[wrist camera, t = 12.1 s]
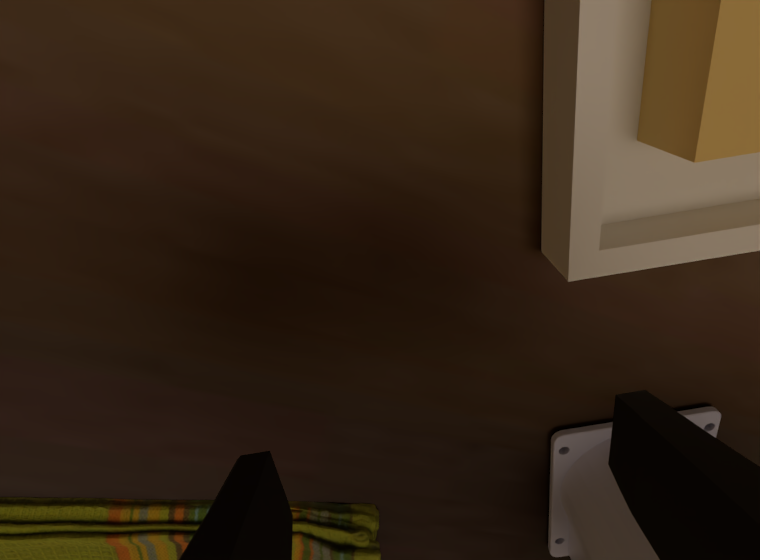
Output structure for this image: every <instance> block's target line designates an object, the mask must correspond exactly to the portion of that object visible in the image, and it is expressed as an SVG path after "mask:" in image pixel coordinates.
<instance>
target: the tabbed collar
mask: <svg viewBox="0 0 760 560" xmlns="http://www.w3.org/2000/svg"><path fill="white" fill-rule="evenodd" d="M637 141H639V142H642V143H645V144H647V145H650V146H652V147H655V148H657V149H660V150H663V151H665V152H668V153H670V154H673V155H676V156H678V157H681V158H683V159H686V160H688V161H691V162H694V163H696V162H702V161H708V160H715V159H721V158H727V157H733V156H739V155H745V154H751V153H757V152H760V0H652V1H651V10H650V20H649V29H648V39H647V48H646V58H645V68H644V77H643V87H642V96H641V106H640V116H639V125H638V135H637Z"/></svg>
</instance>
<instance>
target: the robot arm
mask: <svg viewBox="0 0 760 560" xmlns="http://www.w3.org/2000/svg"><path fill="white" fill-rule="evenodd" d="M720 420H721V414H720V412H719V411H718V410H717V409H716V408H714V407H702V408H696V409H690V410H683V411H676V410H674V409H673V408H671V407H670V406H668V405H667V404H665V403H664V402H662V401H661V400H659V399H658V398H656V397H655V396H653V395H652V394H650V393H649V392H647V391H646V390H643V391H637V392H631V393H625V394H618V395H616V398H615V407H614V416H613V422H609V423H603V424H597V425H591V426H584V427H578V428H572V429H566V430H560V431H557V432H556V433H554V435H553V436H552V438H551V462H550V497H549V531H548V549H549V552H550V554H551V555H552V556H553V557H563V556H570V558H571V560H760V467H759V466H757V465H756V464H754V463H753V462H751V461H750V460H748V459H747V458H745V457H744V456H742V455H741V454H739V453H738V452H736V451H734V450H733V449H731V448H730V447H728V446H727V445H725V444H724V443H723V442H721V441H720V440H718V439H717V438H716V435H717V431H718V427H719V424H720ZM562 447H563V448H562ZM292 534H293V514H292V511H291V509H290V506H289V503H288V500H287V497H286V495H285V492H284V489H283V486H282V484H281V481H280V478H279V475H278V473H277V470H276V467H275V464H274V461H273V459H272V456H271V453H270V451H266V452H260V453H254V454H248V455H242V456H240V457H239V459H238V460H237V461H236V463H235V465H234V467H233V468H232V470H231V472H230V474H229V476H228V477H227V479H226V481H225V483H224V484H223V486H222V488H221V490H220V492H219V493H218V495H217V497H216V499H215V500H214V502H213V504H212V505H211V507H210V509H209V511H208V512H207V514H206V516H205V518H204V519H203V521H202V523H201V524H200V526H199V528H198V529H197V531H196V532H195V534H194V536H193V537H192V539H191V541H190V542H189V544H188V546H187V547H186V549H185V550H184V552H183V554H182V555H181V557H180V559H179V560H292Z"/></svg>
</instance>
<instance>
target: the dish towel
mask: <svg viewBox="0 0 760 560" xmlns="http://www.w3.org/2000/svg"><path fill="white" fill-rule="evenodd" d="M213 502H214V500H126V499H107V498H101V499H98V498H12V497H0V560H179V559H180V557H181V555H182V554H183V552H184V550H185V549H186V547H187V546H188V544H189V542H190V541H191V539H192V537H193V536H194V534H195V532H196V531H197V529H198V528H199V526H200V524H201V523H202V521H203V519H204V518H205V516H206V514H207V512H208V511H209V509H210V507H211V505H212V504H213ZM288 503H289V506H290V509H291V511H292V514H293V534H292V560H381V553H380V549H379V543H378V541H375V539H376V536H377V530H378V528H379V522H378V521H379V511H378V510H377V509H376V506H375V505H374V504H337V503H331V502H299V501H288Z"/></svg>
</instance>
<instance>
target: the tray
mask: <svg viewBox="0 0 760 560" xmlns="http://www.w3.org/2000/svg"><path fill="white" fill-rule="evenodd" d="M651 1H652V0H544V71H543V152H542V233H541V252H542V253H543V254H544V255H545V256H546V257H547V259H548V260H549V261H550V262H551V263H552V264H553V265H554V266H555V268H556V269H557V270H558V271H559V272H560V273H561V274H562V275H563V277H564V278H565V279H566V280H567V281H568V282H570V281H576V280H582V279H588V278H594V277H600V276H606V275H613V274H619V273H625V272H631V271H637V270H643V269H649V268H655V267H661V266H668V265H674V264H680V263H686V262H692V261H698V260H704V259H710V258H716V257H723V256H729V255H735V254H741V253H747V252H753V251H759V250H760V152H757V153H751V154H745V155H739V156H733V157H727V158H721V159H715V160H708V161H702V162H696V163H694V162H691V161H688V160H686V159H683V158H681V157H678V156H676V155H673V154H670V153H668V152H665V151H663V150H660V149H657V148H655V147H652V146H650V145H647V144H645V143H642V142H639V141H637V135H638V125H639V116H640V106H641V96H642V87H643V77H644V68H645V58H646V48H647V39H648V29H649V20H650V10H651Z"/></svg>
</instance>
